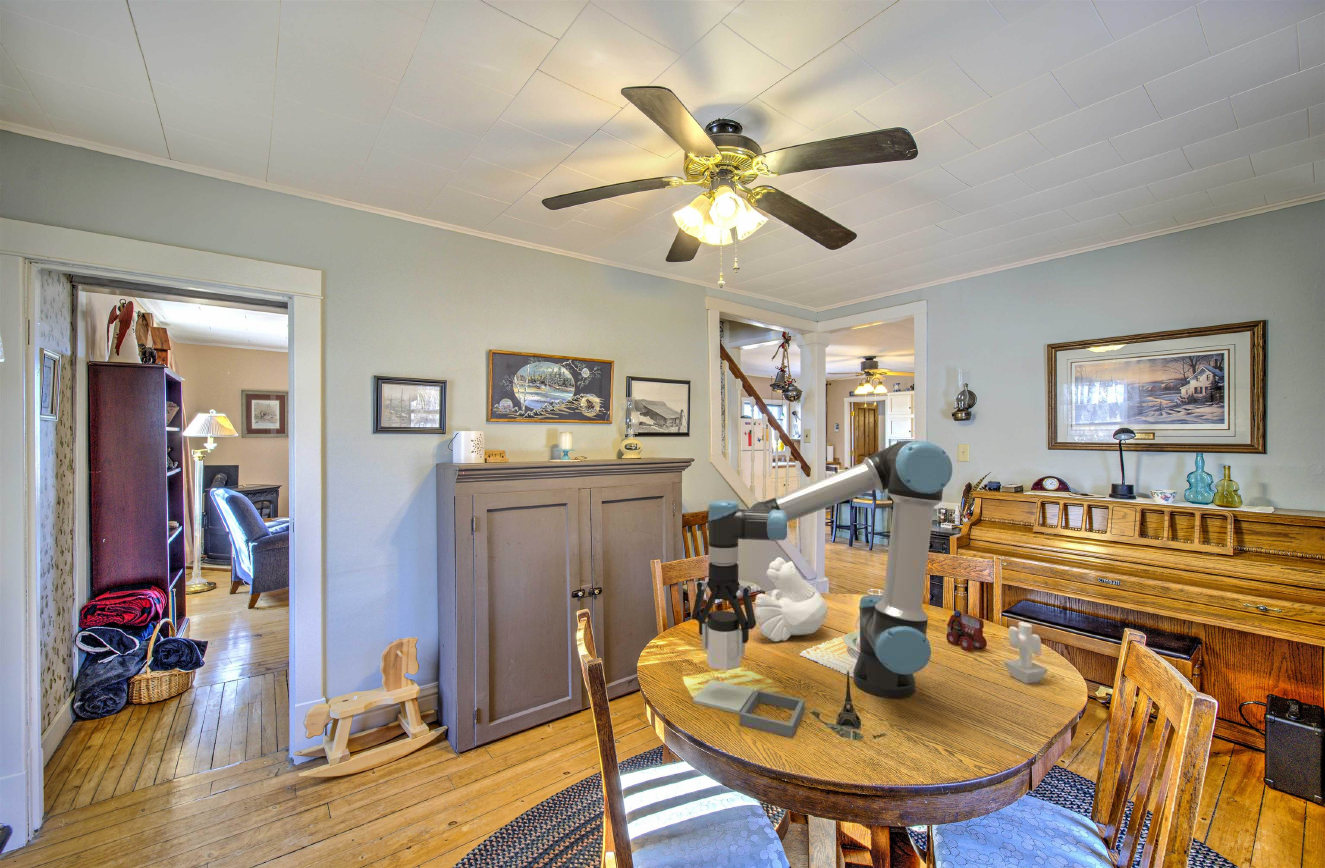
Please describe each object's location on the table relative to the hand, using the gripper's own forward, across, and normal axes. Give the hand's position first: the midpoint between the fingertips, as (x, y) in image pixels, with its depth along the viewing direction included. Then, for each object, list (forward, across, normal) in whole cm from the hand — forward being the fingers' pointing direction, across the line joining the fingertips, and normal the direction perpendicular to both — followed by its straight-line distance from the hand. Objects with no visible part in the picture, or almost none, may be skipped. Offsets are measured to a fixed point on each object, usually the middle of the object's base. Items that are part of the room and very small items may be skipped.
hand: (723, 651), depth 134 cm
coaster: (+12, 0, 0) cm, 12 cm away
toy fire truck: (+11, -57, -64) cm, 86 cm away
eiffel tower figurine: (+12, -29, -1) cm, 32 cm away
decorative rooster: (+12, -5, -49) cm, 51 cm away
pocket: (+11, -14, +4) cm, 18 cm away
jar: (+3, 0, 0) cm, 3 cm away
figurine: (+11, -70, -45) cm, 84 cm away
